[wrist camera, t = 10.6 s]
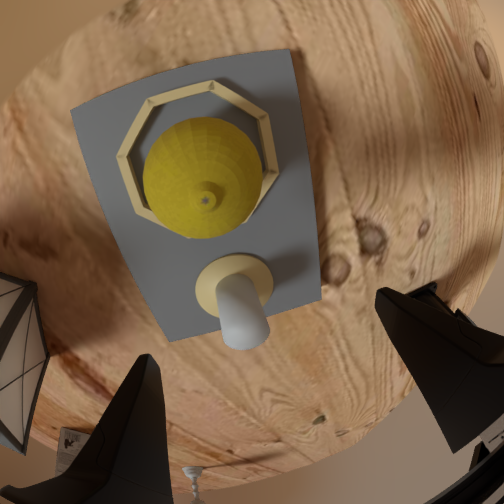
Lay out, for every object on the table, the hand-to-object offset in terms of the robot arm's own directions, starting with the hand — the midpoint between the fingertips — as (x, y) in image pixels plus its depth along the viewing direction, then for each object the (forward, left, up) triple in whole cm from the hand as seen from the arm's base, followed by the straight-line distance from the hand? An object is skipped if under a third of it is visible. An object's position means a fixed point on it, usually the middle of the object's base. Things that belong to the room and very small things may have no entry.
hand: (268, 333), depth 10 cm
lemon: (+1, -5, -10) cm, 11 cm away
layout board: (+1, -1, -12) cm, 12 cm away
